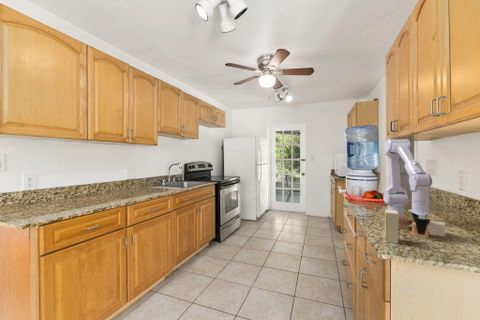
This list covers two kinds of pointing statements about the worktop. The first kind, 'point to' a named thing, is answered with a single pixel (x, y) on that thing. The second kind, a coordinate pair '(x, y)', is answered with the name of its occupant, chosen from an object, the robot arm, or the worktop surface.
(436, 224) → the beige cube
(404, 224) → the walnut cube
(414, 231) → the terracotta cube
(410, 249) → the worktop surface
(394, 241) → the skincare box
